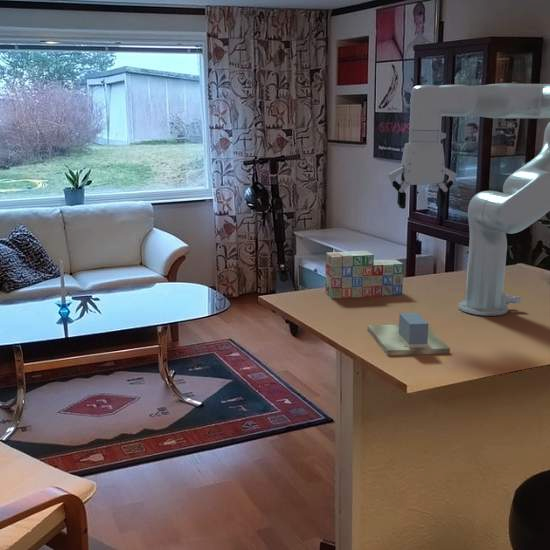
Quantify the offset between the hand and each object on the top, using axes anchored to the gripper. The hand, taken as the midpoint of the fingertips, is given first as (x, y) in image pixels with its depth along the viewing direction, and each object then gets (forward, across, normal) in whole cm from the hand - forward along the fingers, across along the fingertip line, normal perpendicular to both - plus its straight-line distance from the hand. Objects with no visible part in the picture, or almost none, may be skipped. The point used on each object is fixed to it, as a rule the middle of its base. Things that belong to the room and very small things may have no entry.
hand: (420, 207), depth 176 cm
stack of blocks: (+29, +8, -23) cm, 38 cm away
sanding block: (+27, +8, +23) cm, 36 cm away
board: (+28, +8, +19) cm, 35 cm away
